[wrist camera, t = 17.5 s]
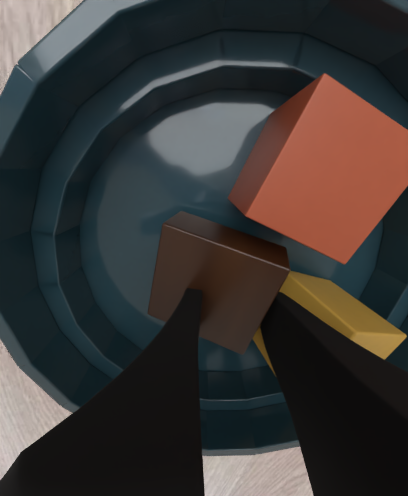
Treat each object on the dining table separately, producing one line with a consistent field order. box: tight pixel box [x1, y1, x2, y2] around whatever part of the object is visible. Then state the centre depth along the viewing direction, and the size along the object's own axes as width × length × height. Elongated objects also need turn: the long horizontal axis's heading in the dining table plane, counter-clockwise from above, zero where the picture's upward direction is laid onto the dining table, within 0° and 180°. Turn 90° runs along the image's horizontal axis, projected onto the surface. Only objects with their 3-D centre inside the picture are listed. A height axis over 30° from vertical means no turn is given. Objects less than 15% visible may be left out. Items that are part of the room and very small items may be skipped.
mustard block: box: [253, 271, 407, 376], centre depth 10 cm, size 4×4×4 cm
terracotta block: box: [228, 73, 408, 264], centre depth 8 cm, size 4×4×4 cm
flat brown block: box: [148, 211, 291, 355], centre depth 9 cm, size 2×5×5 cm
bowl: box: [0, 0, 408, 456], centre depth 10 cm, size 19×19×4 cm
